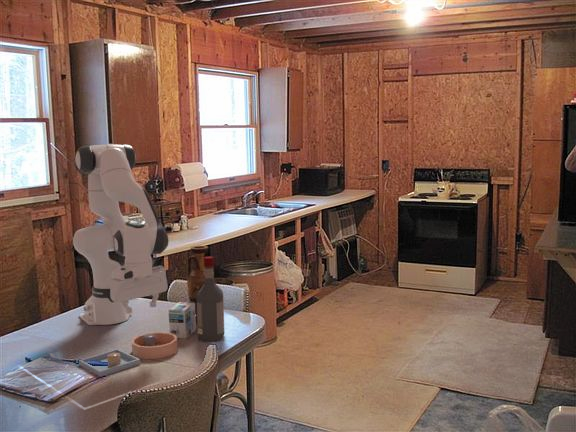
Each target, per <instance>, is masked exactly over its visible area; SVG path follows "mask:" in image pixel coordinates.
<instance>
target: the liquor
mask: <svg viewBox="0 0 576 432" xmlns="http://www.w3.org/2000/svg"><path fill="white" fill-rule="evenodd" d="M214 266H215V258H214V256H212V255H211V256H204V268H205V282H204V285H203V286H202V288H201V289H200V290H199V292H198V294H197V298H196V299H197V324H196V326H197V339H198V341H200V342H202V343H217V342H221V341H223V340H224V336H225V312H224V311H225V310H224V308H225V306H224V291H223V290H222V289H221V288H220V287H219V286H218V284H216V281H215V271H214Z"/></svg>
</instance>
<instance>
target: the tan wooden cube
mask: <svg viewBox="0 0 576 432" xmlns="http://www.w3.org/2000/svg"><path fill="white" fill-rule="evenodd" d="M107 361H108V368H111V367H114V366H117V365H120V364H121V359H120V353H110V354H108V355H107Z"/></svg>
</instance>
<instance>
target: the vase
mask: <svg viewBox="0 0 576 432" xmlns="http://www.w3.org/2000/svg"><path fill="white" fill-rule="evenodd" d="M190 251H191V252H192V253H193V254H194V255H190V256H189V258H188V260H187V272H186V273H185V274H186V276H185V277H186V284H187V295H188V298H189V299H188V300H189V303H195V319H196V325H197V299H196V298H197V294H198V292H199V290H200V289H201V288H202V286H203V285H204V282H205V267H204V257H205V254H206V253H207V252H208V251H209V246H206V245H196V246H191V247H190ZM192 260H193V261H194V268H193V267H192ZM192 268H193V269H194V270H193V269H192Z"/></svg>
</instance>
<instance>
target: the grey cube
mask: <svg viewBox="0 0 576 432" xmlns="http://www.w3.org/2000/svg"><path fill="white" fill-rule="evenodd" d="M144 346H148V347H152V346H156V336H155V335H154V334H148V335H145V336H144Z"/></svg>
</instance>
